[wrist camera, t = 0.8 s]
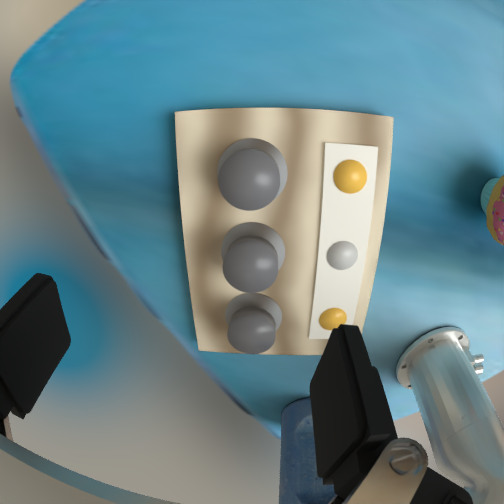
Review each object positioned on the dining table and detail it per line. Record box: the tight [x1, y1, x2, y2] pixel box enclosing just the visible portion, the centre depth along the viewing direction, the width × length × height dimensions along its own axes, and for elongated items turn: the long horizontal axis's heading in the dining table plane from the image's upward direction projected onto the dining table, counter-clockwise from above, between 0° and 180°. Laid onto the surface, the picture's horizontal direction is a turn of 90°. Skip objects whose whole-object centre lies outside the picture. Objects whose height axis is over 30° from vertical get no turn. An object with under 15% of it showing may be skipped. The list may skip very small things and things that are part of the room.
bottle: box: [279, 398, 336, 504], centre depth 32 cm, size 10×10×30 cm
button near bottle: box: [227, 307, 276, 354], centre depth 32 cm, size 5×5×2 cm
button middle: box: [223, 235, 278, 293], centre depth 29 cm, size 5×5×2 cm
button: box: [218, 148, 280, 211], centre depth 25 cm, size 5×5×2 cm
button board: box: [175, 108, 393, 355], centre depth 32 cm, size 20×28×2 cm
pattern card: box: [309, 142, 378, 339], centre depth 30 cm, size 5×22×1 cm, turn 1°
